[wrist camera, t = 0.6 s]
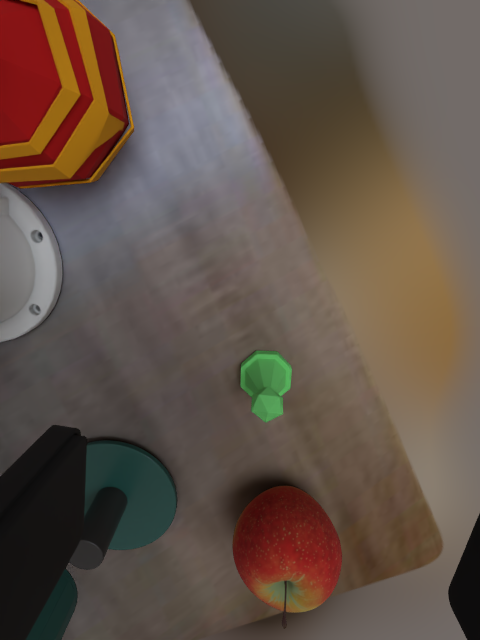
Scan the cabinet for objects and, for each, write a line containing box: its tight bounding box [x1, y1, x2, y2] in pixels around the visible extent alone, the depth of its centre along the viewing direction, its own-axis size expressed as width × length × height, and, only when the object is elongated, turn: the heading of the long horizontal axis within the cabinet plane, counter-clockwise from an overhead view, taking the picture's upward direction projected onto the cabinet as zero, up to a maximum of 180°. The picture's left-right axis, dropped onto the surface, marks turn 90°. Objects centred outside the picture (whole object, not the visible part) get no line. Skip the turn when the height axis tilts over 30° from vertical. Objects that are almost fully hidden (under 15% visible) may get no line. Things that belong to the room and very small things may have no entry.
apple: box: [233, 486, 342, 628], centre depth 28 cm, size 8×8×10 cm
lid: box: [69, 440, 177, 570], centre depth 30 cm, size 11×11×7 cm
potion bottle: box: [0, 0, 134, 189], centre depth 17 cm, size 10×10×15 cm
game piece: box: [240, 351, 292, 422], centre depth 26 cm, size 4×4×6 cm
